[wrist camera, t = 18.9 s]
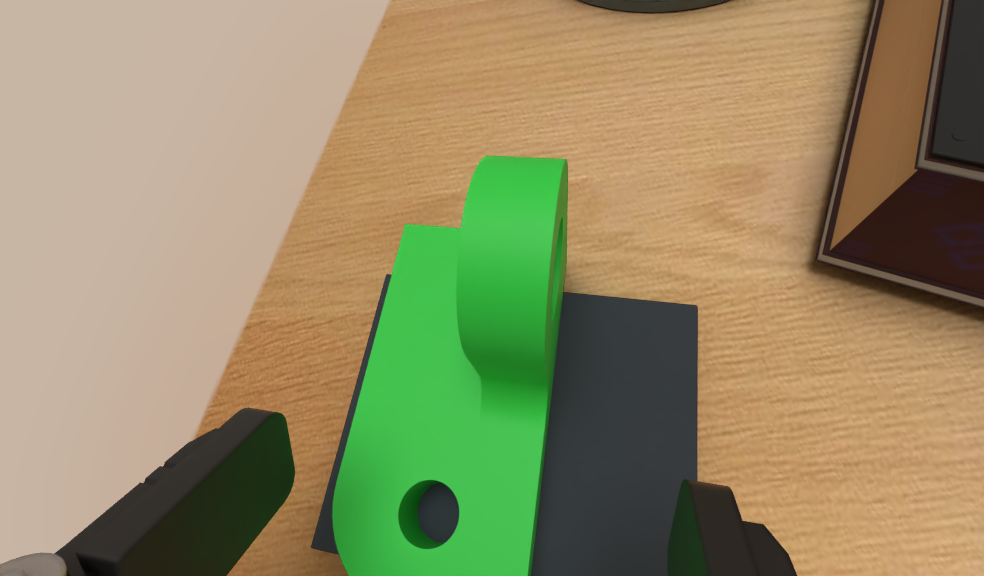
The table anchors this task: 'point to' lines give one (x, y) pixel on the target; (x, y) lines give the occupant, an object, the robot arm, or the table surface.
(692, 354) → the mat
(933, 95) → the miniature tv stand
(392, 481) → the mechanical part
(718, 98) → the table surface
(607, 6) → the pot
